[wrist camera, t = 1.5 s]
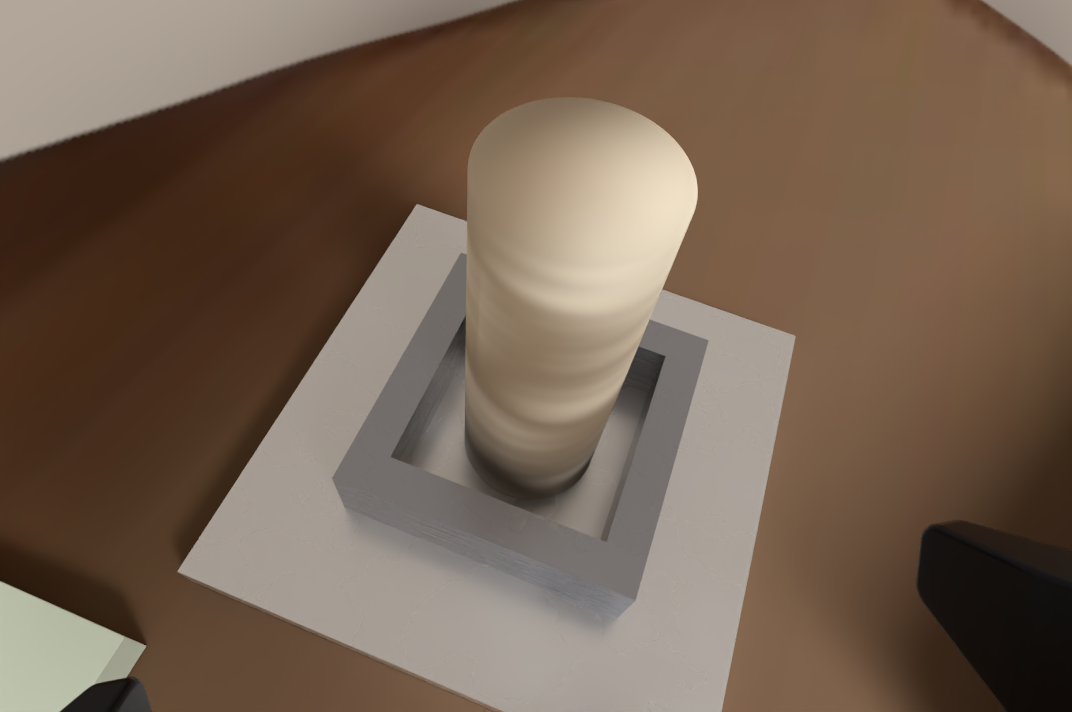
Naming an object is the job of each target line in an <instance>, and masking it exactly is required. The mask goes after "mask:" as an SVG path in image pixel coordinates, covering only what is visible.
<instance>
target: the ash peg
mask: <svg viewBox="0 0 1072 712" xmlns="http://www.w3.org/2000/svg"><path fill="white" fill-rule="evenodd" d="M697 192H698V188H697V181H696V176H695V173H694V170H693V167H692V165H691V163H690V161H689V159H688V157H687V155H686V154H685V152H684V151H683V149H682V148H681V147H680V146H679V144H678V143H677V142H676V141H675V140H674V139H673V138H672V137H671V136H670V135H669V134H668V133H667V132H666V131H665V130H663V129H662V128H661V127H659V126H658V125H657V124H655V123H654V122H652V121H650V120H649V119H647V118H645V117H644V116H642V115H640V114H638V113H636V112H634V111H631V110H629V109H627V108H624V107H621V106H618V105H615V104H612V103H608V102H604V101H599V100H594V99H587V98H577V97H559V98H548V99H542V100H536V101H533V102H529V103H525V104H522V105H520V106H517V107H515V108H512V109H510V110H509V111H507V112H505V113H503V114H501V115H500V116H498V117H497V118H496V119H494V120H493V121H492V122H491V123H489V124H488V125H487V126H486V127H485V128H484V129H483V131H482V132H481V133H480V135H479V136H478V137H477V139H476V141H475V143H474V145H473V147H472V149H471V153H470V156H469V161H468V186H467V271H466V356H465V447H466V453H467V455H468V458H469V461H470V463H471V465H472V467H473V468H474V470H475V471H476V473H477V474H478V475H479V476H480V477H481V479H482V480H483V481H484V482H486V483H487V484H488V485H489V486H490V487H492V488H494V489H495V490H497V491H499V492H501V493H503V494H505V495H508V496H511V497H514V498H519V499H527V500H537V499H545V498H550V497H552V496H555V495H558V494H560V493H562V492H564V491H566V490H568V489H569V488H570V487H572V486H573V485H574V484H575V483H576V482H578V481H579V479H580V478H581V477H582V476H583V475H584V473H585V472H586V470H587V468H588V466H589V464H590V462H591V459H592V457H593V454H594V452H595V450H596V447H597V445H598V442H599V440H600V438H601V435H602V433H603V430H604V428H605V426H606V423H607V421H608V418H609V416H610V414H611V411H612V409H613V406H614V404H615V401H616V399H617V397H618V394H619V392H620V389H621V387H622V385H623V382H624V380H625V377H626V375H627V373H628V370H629V368H630V365H631V363H632V360H633V358H634V356H635V353H636V351H637V348H638V346H639V344H640V341H641V339H642V336H643V334H644V332H645V329H646V327H647V324H648V322H649V319H650V317H651V315H652V312H653V310H654V307H655V305H656V303H657V300H658V298H659V295H660V293H661V291H662V288H663V286H664V283H665V281H666V278H667V276H668V274H669V271H670V269H671V266H672V264H673V262H674V259H675V257H676V254H677V252H678V250H679V247H680V245H681V242H682V240H683V238H684V235H685V233H686V230H687V228H688V225H689V223H690V221H691V218H692V216H693V213H694V211H695V207H696V203H697Z"/></svg>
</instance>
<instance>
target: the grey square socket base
mask: <svg viewBox="0 0 1072 712" xmlns="http://www.w3.org/2000/svg"><path fill="white" fill-rule="evenodd" d="M466 271H467V221H464V220H461V219H458V218H456V217H453V216H450V215H447V214H444V213H441V212H438V211H435V210H433V209H430V208H427V207H424V206H421V205H418V204H417V205H416V206H415V208H414V209H413V211H412V212H411V214H410V215H409V217H408V218H407V220H406V221H405V223H404V225H403V226H402V228H401V229H400V231H399V232H398V234H397V235H396V237H395V238H394V240H393V241H392V243H391V244H390V246H389V248H388V249H387V251H386V252H385V254H384V255H383V257H382V258H381V260H380V261H379V263H378V264H377V266H376V267H375V269H374V271H373V272H372V274H371V275H370V277H369V278H368V280H367V281H366V283H365V284H364V286H363V287H362V289H361V290H360V292H359V294H358V295H357V297H356V298H355V300H354V301H353V303H352V304H351V306H350V307H349V309H348V310H347V312H346V313H345V315H344V317H343V318H342V320H341V321H340V323H339V324H338V326H337V327H336V329H335V330H334V332H333V333H332V335H331V336H330V338H329V340H328V341H327V343H326V344H325V346H324V347H323V349H322V350H321V352H320V353H319V355H318V356H317V358H316V359H315V361H314V363H313V364H312V366H311V367H310V369H309V370H308V372H307V373H306V375H305V376H304V378H303V379H302V381H301V382H300V384H299V386H298V387H297V389H296V390H295V392H294V393H293V395H292V396H291V398H290V399H289V401H288V402H287V404H286V405H285V407H284V409H283V410H282V412H281V413H280V415H279V416H278V418H277V419H276V421H275V422H274V424H273V425H272V427H271V428H270V430H269V432H268V433H267V435H266V436H265V438H264V439H263V441H262V442H261V444H260V445H259V447H258V448H257V450H256V451H255V453H254V455H253V456H252V458H251V459H250V461H249V462H248V464H247V465H246V467H245V468H244V470H243V471H242V473H241V474H240V476H239V478H238V479H237V481H236V482H235V484H234V485H233V487H232V488H231V490H230V491H229V493H228V494H227V496H226V497H225V499H224V501H223V502H222V504H221V505H220V507H219V508H218V510H217V511H216V513H215V514H214V516H213V517H212V519H211V520H210V522H209V524H208V525H207V527H206V528H205V530H204V531H203V533H202V534H201V536H200V537H199V539H198V540H197V542H196V543H195V545H194V547H193V548H192V550H191V551H190V553H189V554H188V556H187V557H186V559H185V560H184V562H183V563H182V565H181V566H180V568H179V570H178V571H177V572H178V573H180V574H181V575H183V576H184V577H185V578H187V579H188V580H190V581H192V582H195V583H197V584H199V585H202V586H204V587H206V588H209V589H211V590H213V591H216V592H218V593H220V594H223V595H225V596H227V597H230V598H232V599H234V600H237V601H239V602H241V603H244V604H246V605H248V606H251V607H253V608H255V609H258V610H260V611H262V612H265V613H267V614H269V615H272V616H274V617H276V618H279V619H281V620H283V621H286V622H288V623H290V624H293V625H295V626H297V627H300V628H302V629H304V630H306V631H309V632H311V633H313V634H316V635H318V636H320V637H323V638H325V639H327V640H330V641H332V642H334V643H337V644H339V645H341V646H344V647H346V648H348V649H351V650H353V651H355V652H358V653H360V654H362V655H365V656H367V657H369V658H372V659H374V660H376V661H379V662H381V663H383V664H386V665H388V666H390V667H393V668H395V669H397V670H400V671H402V672H404V673H407V674H409V675H411V676H414V677H416V678H418V679H421V680H423V681H425V682H428V683H430V684H432V685H435V686H437V687H439V688H442V689H444V690H446V691H448V692H451V693H453V694H455V695H458V696H460V697H462V698H465V699H467V700H469V701H472V702H474V703H476V704H479V705H481V706H483V707H486V708H488V709H490V710H493V711H495V712H721V711H722V706H723V701H724V696H725V691H726V686H727V681H728V676H729V670H730V665H731V660H732V655H733V650H734V645H735V640H736V635H737V630H738V625H739V620H740V615H741V610H742V605H743V600H744V595H745V589H746V584H747V579H748V574H749V569H750V564H751V559H752V554H753V549H754V544H755V539H756V534H757V529H758V524H759V519H760V513H761V508H762V503H763V498H764V493H765V488H766V483H767V478H768V473H769V468H770V463H771V458H772V453H773V448H774V443H775V438H776V432H777V427H778V422H779V417H780V412H781V407H782V402H783V397H784V392H785V387H786V382H787V377H788V372H789V367H790V362H791V357H792V351H793V346H794V341H795V336H794V335H791V334H788V333H785V332H782V331H780V330H777V329H774V328H771V327H768V326H765V325H762V324H759V323H757V322H754V321H751V320H748V319H745V318H742V317H739V316H737V315H734V314H731V313H728V312H725V311H722V310H719V309H716V308H714V307H711V306H708V305H705V304H702V303H699V302H696V301H694V300H691V299H688V298H685V297H682V296H679V295H676V294H673V293H671V292H668V291H665V290H662V291H661V293H660V295H659V298H658V300H657V303H656V305H655V307H654V310H653V312H652V315H651V317H650V319H649V322H648V324H647V327H646V329H645V332H644V334H643V336H642V339H641V341H640V344H639V346H638V348H637V351H636V353H635V356H634V358H633V360H632V363H631V365H630V368H629V370H628V373H627V375H626V377H625V380H624V382H623V385H622V387H621V389H620V392H619V394H618V397H617V399H616V401H615V404H614V406H613V409H612V411H611V414H610V416H609V418H608V421H607V423H606V426H605V428H604V430H603V433H602V435H601V438H600V440H599V442H598V445H597V447H596V450H595V452H594V454H593V457H592V459H591V462H590V464H589V466H588V468H587V470H586V472H585V473H584V475H583V476H582V477H581V478H580V479H579V481H578V482H576V483H575V484H574V485H573V486H572V487H570V488H569V489H568V490H566V491H564V492H562V493H560V494H558V495H555V496H552V497H550V498H545V499H537V500H527V499H519V498H514V497H511V496H508V495H505V494H503V493H501V492H499V491H497V490H495V489H494V488H492V487H490V486H489V485H488V484H487V483H486V482H484V481H483V480H482V479H481V477H480V476H479V475H478V474H477V473H476V471H475V470H474V468H473V467H472V465H471V463H470V461H469V458H468V455H467V453H466V447H465V356H466Z"/></svg>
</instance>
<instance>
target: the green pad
mask: <svg viewBox="0 0 1072 712" xmlns="http://www.w3.org/2000/svg"><path fill="white" fill-rule="evenodd" d="M145 648H146V645H144V644H141V643H139V642H137V641H135V640H132V639H130V638H128V637H126V636H123V635H121V634H119V633H117V632H114V631H112V630H110V629H108V628H105V627H103V626H101V625H99V624H96V623H94V622H92V621H90V620H87V619H85V618H83V617H81V616H78V615H76V614H74V613H72V612H69V611H67V610H65V609H63V608H60V607H58V606H56V605H54V604H51V603H49V602H47V601H45V600H42V599H40V598H38V597H36V596H33V595H31V594H29V593H27V592H24V591H22V590H20V589H18V588H15V587H13V586H11V585H9V584H6V583H4V582H2V581H0V712H60V711H61V710H62V709H63V708H64V707H66V706H67V705H68V704H69V703H70V702H72V701H73V700H74V699H75V698H76V697H78V696H79V695H80V694H81V693H82V692H84V691H85V690H86V689H88V688H89V687H90V686H92V685H94V684H97V683H101V682H106V681H111V680H117V679H122V678H126V677H127V676H128V674H129V673H130V671H131V669H132V668H133V666H134V665H135V663H136V662H137V660H138V659H139V657H140V655H141V654H142V652H143V651H144V649H145Z"/></svg>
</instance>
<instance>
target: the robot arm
mask: <svg viewBox="0 0 1072 712" xmlns="http://www.w3.org/2000/svg"><path fill="white" fill-rule="evenodd" d="M916 585H917V590H918V593H919V596H920V598H921V600H922V602H923V603H924V605H925V606H926V608H927V609H928V610H929V612H930V613H931V614H932V616H933V617H934V618H935V620H936V621H937V622H938V623H939V625H940V626H941V627H942V629H943V630H944V631H945V633H946V634H947V635H948V637H949V638H950V639H951V641H952V642H953V643H954V645H955V646H956V647H957V649H958V650H959V651H960V653H961V654H962V655H963V657H964V658H965V659H966V661H967V662H968V663H969V664H970V666H971V667H972V668H973V670H974V671H975V672H976V674H977V675H978V676H979V678H980V679H981V680H982V682H983V683H984V684H985V686H986V687H987V688H988V690H989V691H990V692H991V694H992V695H993V696H994V697H995V699H996V700H997V701H998V702H999V704H1000V705H1001V706H1002V708H1003V709H1004V710H1005V711H1006V712H1072V550H1069V549H1065V548H1061V547H1058V546H1054V545H1050V544H1047V543H1043V542H1039V541H1036V540H1032V539H1028V538H1025V537H1021V536H1017V535H1014V534H1010V533H1006V532H1003V531H999V530H996V529H992V528H988V527H985V526H981V525H977V524H974V523H970V522H966V521H962V520H952V521H947V522H941V523H936V524H931V525H929V526H928V527H926V528H925V530H924V532H923V533H922V537H921V544H920V552H919V561H918V569H917V577H916ZM60 712H152V710H151V706H150V703H149V700H148V696H147V693H146V689H145V687H144V685H143V683H142V682H141V680H140V679H138V678H135V677H127V678H122V679H117V680H111V681H106V682H101V683H97V684H94V685H92V686H90V687H89V688H88V689H86V690H85V691H84V692H82V693H81V694H80V695H79V696H78V697H76V698H75V699H74V700H73V701H72V702H70V703H69V704H68V705H67V706H66V707H64V708H63V709H62V710H61V711H60Z"/></svg>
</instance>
